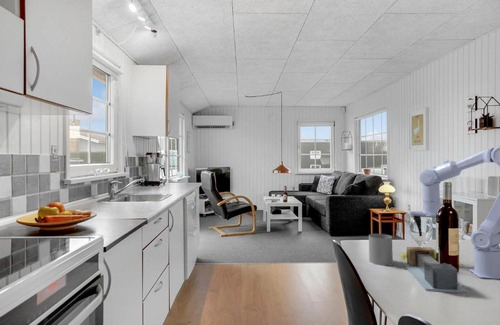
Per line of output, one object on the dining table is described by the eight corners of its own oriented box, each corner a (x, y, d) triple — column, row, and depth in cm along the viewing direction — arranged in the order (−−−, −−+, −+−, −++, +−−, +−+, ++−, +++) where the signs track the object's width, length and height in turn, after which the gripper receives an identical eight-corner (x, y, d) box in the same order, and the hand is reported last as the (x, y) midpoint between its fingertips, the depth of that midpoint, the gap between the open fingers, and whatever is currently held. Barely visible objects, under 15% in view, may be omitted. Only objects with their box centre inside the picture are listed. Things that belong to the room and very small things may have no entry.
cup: (394, 265, 118) (394, 238, 118) (371, 264, 120) (370, 238, 120) (389, 259, 126) (389, 234, 126) (367, 258, 128) (367, 233, 128)
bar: (425, 264, 116) (425, 251, 116) (443, 281, 100) (443, 266, 100) (415, 264, 117) (414, 251, 117) (431, 280, 101) (430, 265, 101)
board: (435, 266, 117) (435, 264, 117) (467, 293, 92) (467, 290, 92) (403, 264, 119) (403, 263, 119) (425, 290, 95) (425, 288, 95)
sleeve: (446, 280, 101) (446, 261, 101) (457, 289, 93) (457, 269, 93) (424, 278, 102) (424, 260, 103) (433, 288, 95) (433, 268, 95)
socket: (431, 264, 117) (430, 247, 117) (434, 267, 114) (434, 250, 114) (407, 263, 119) (406, 246, 119) (409, 266, 115) (409, 249, 115)
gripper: (410, 201, 121) (411, 237, 121) (455, 202, 115) (456, 240, 115) (409, 199, 127) (410, 233, 127) (451, 200, 121) (452, 236, 121)
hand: (431, 236), depth 121 cm, fingers open, 7 cm apart
